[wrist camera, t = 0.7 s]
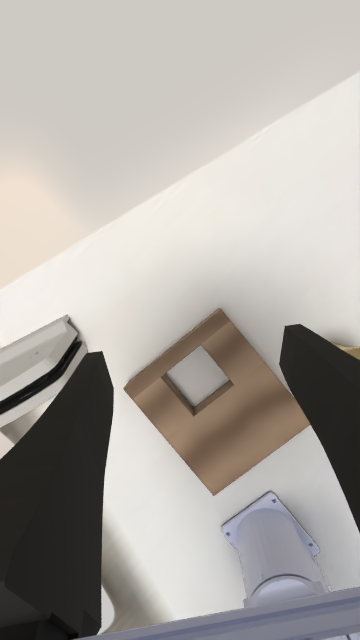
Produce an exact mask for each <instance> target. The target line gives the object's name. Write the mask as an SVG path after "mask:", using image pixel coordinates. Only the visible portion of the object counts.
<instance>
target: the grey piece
mask: <svg viewBox="0 0 360 640" xmlns="http://www.w3.org/2000/svg"><path fill="white" fill-rule="evenodd" d="M69 318H70V317H69V316H68V315H65V316H63V317H61V318H59V319H57V320H55V321H53V322H52V323H50V324H48V325H46V326H44V327H42V328H40V329H38V330H36V331H34V332H32V333H30V334H28V335H27V336H25V337H23V338H21V339H19V340H17V341H15V342H13V343H11V344H9V345H7V346H5V347H3V348H2V349H0V427H2V426H4V425H6V424H8V423H10V422H11V421H13V420H15V419H17V418H19V417H20V416H22V415H24V414H26V413H27V412H29V411H31V410H33V409H34V408H36V407H37V406H39V405H41V404H42V403H44V402H45V401H47V400H48V399H50V398H51V397H53V396H54V395H56V394H57V393H59V392H60V391H61V389H62V388H63V386H64V385H65V384H66V382H67V381H68V379H69V378H70V376H71V375H72V374H73V372H74V371H75V369H76V368H77V366H78V364H79V363H80V361H81V360H82V358H83V357H84V356H85V354H86V353H87V352H88V349H87V346H86V344H85V342H83V343H81V342H80V341H79V342H77V343H76V344H74V343H75V341H76V340H77V337H76V336H77V334H78V332H77V331H75V330H74V329H73V328H72V327H71V326H70V325H69V324H68V323H67V322H68V320H69ZM73 344H74V345H73Z"/></svg>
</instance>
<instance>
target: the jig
mask: <svg viewBox="0 0 360 640" xmlns="http://www.w3.org/2000/svg"><path fill="white" fill-rule="evenodd" d="M200 345H202V346H203V348H204V349H205V350H206V351H207V352H208V354H209V355H210V356H211V357H212V358H213V360H214V361H215V362H216V363H217V365H218V366H219V367H220V368H221V369H222V371H223V372H224V373H225V374H226V375H227V377H228V378H229V379H230V380H229V381H228V382H227V383H225V384H224V385H223V386H222V387H220V388H219V389H218V390H216V391H215V392H214V393H213V394H211V395H210V396H209V397H208V398H206V399H205V400H204V401H202V402H201V403H200V404H199V405H197V406H196V407H195V408H193V407H192V406H191V404H190V403H189V402H188V401H187V400H186V399H185V397H184V396H183V395H182V394H181V393H180V391H179V390H178V389H177V388H176V387H175V385H174V384H173V383H172V382H171V381H170V379H169V378H168V377H167V376H166V375H165V373H166V372H167V371H169V370H170V369H171V368H172V367H174V366H175V365H176V364H177V363H179V362H180V361H181V360H182V359H183V358H185V357H186V356H187V355H188V354H190V353H191V352H192V351H193V350H195V349H196V348H197V347H198V346H200ZM123 389H124V390H125V392H126V393H127V394H128V395H129V396H130V397H131V399H132V400H133V401H134V402H135V403H136V405H137V406H138V407H139V408H140V409H141V410H142V412H143V413H144V414H145V415H146V416H147V418H148V419H149V420H150V421H151V422H152V423H153V425H154V426H155V427H156V428H157V429H158V431H159V432H160V433H161V434H162V435H163V437H164V438H165V439H166V440H167V441H168V442H169V444H170V445H171V446H172V447H173V448H174V450H175V451H176V452H177V453H178V454H179V455H180V457H181V458H182V459H183V460H184V461H185V463H186V464H187V465H188V466H189V467H190V468H191V470H192V471H193V472H194V473H195V474H196V476H197V477H198V478H199V479H200V480H201V482H202V483H203V484H204V485H205V486H206V487H207V489H208V490H209V491H210V492H211V493H212V495H213V496H215V495H216V494H217V493H219V492H220V491H221V490H223V489H224V488H225V487H227V486H228V485H229V484H231V483H232V482H234V481H235V480H236V479H238V478H239V477H240V476H242V475H243V474H244V473H246V472H247V471H248V470H250V469H251V468H252V467H254V466H255V465H257V464H258V463H259V462H261V461H262V460H263V459H265V458H266V457H267V456H269V455H270V454H271V453H273V452H274V451H275V450H277V449H278V448H280V447H281V446H282V445H284V444H285V443H286V442H288V441H289V440H290V439H292V438H293V437H294V436H296V435H297V434H298V433H300V432H301V431H302V430H304V429H305V428H307V427H308V426H309V425H311V424H310V423H309V421H308V419H307V418H306V416H305V414H304V413H303V411H302V409H301V407H300V406H299V404H298V402H297V401H296V400H295V399H294V397H293V396H292V395H291V394H290V393H289V391H288V390H287V389H286V388H285V387H284V385H283V384H282V383H281V382H280V380H279V379H278V378H277V377H276V376H275V374H274V373H273V372H272V371H271V369H270V368H269V367H268V366H267V365H266V363H265V362H264V361H263V360H262V358H261V357H260V356H259V355H258V354H257V352H256V351H255V350H254V349H253V348H252V346H251V345H250V344H249V343H248V341H247V340H246V339H245V338H244V337H243V335H242V334H241V333H240V332H239V330H238V329H237V328H236V327H235V326H234V324H233V323H232V322H231V321H230V319H229V318H228V317H227V316H226V315H225V313H224V312H223V311H222V310H221V309H220V308H219V309H218V310H216V311H215V312H214V313H213V314H211V315H210V316H209V317H208V318H206V319H205V320H204V321H203V322H202V323H200V324H199V325H198V326H197V327H195V328H194V329H193V330H192V331H190V332H189V333H188V334H187V335H186V336H184V337H183V338H182V339H181V340H179V341H178V342H177V343H176V344H175V345H173V346H172V347H171V348H170V349H168V350H167V351H166V352H165V353H163V354H162V355H161V356H160V357H159V358H157V359H156V360H155V361H154V362H152V363H151V364H150V365H149V366H148V367H146V368H145V369H144V370H143V371H141V372H140V373H139V374H138V375H136V376H135V377H134V378H133V379H132V380H130V381H129V382H128V383H127V384H126V386H125V387H124V388H123Z"/></svg>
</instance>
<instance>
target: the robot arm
mask: <svg viewBox="0 0 360 640" xmlns="http://www.w3.org/2000/svg"><path fill="white" fill-rule="evenodd" d="M279 365H280V367H281V370H282V373H283V375H284V377H285V380H286V382H287V384H288V387H289V388H290V390H291V392H292V394H293V395H294V397H295V399H296V401H297V402H298V404H299V406H300V407H301V409H302V411H303V413H304V414H305V416H306V418H307V419H308V421H309V423H310V424H311V426H312V428H313V430H314V431H315V433H316V435H317V437H318V438H319V440H320V442H321V444H322V446H323V448H324V450H325V452H326V454H327V457H328V459H329V461H330V463H331V465H332V468H333V470H334V472H335V474H336V477H337V479H338V481H339V483H340V486H341V488H342V490H343V493H344V495H345V497H346V500H347V502H348V505H349V507H350V510H351V512H352V515H353V517H354V520H355V522H356V525H357V527H358V530H359V533H360V360H359V359H357V358H355V357H354V356H352V355H350V354H348V353H347V352H345V351H343V350H342V349H340V348H338V347H337V346H335V345H334V344H332V343H330V342H329V341H327V340H326V339H324V338H322V337H321V336H319V335H318V334H316V333H314V332H313V331H311V330H309V329H308V328H306V327H304V326H303V325H301V324H296V325H289V326H285V329H284V336H283V342H282V349H281V356H280V363H279ZM113 395H114V388H113V385H112V381H111V378H110V375H109V372H108V368H107V365H106V362H105V359H104V355H103V352H102V351H100V352H92V353H86V354H85V356H84V357H83V358H82V360H81V361H80V363H79V364H78V366H77V368H76V369H75V371H74V372H73V374H72V375H71V376H70V378H69V379H68V381H67V382H66V384H65V385H64V386H63V388H62V389H61V391H60V392H59V393H58V395H57V396H56V398H55V399H54V400H53V402H52V403H51V404H50V405H49V407H48V408H47V409H46V410H45V412H44V413H43V414H42V415H41V417H40V418H39V419H38V420H37V421H36V423H35V424H34V425H33V426H32V427H31V428H30V430H29V431H28V432H27V433H26V434H25V435H24V436H23V437H22V438H21V439H20V441H19V442H18V443H17V444H16V445H15V446H14V447H13V448H12V449H11V450H10V451H9V452H8V453H7V454H6V455H4V456H3V458H1V459H0V640H360V587H356V588H351V589H345V590H340V591H334V592H330V590H329V588H328V586H327V584H326V581H325V579H324V577H323V575H322V573H321V570H320V568H319V566H318V564H317V562H316V559H315V557H314V556H316V555H317V554H318V553H319V552H320V549H319V547H318V546H317V545H316V543H315V542H314V541H313V540H312V539H311V537H310V536H309V535H308V534H307V533H306V531H305V530H304V529H303V528H302V527H301V525H300V524H299V523H298V522H297V521H296V519H295V518H294V517H293V516H292V515H291V513H290V512H289V511H288V510H287V509H286V507H285V506H284V505H283V504H282V503H281V501H280V500H279V499H278V498H277V497H276V495H275V494H274V493H272V492H269V493H267V494H266V495H264V496H263V497H262V498H260V499H259V500H258V501H256V502H255V503H253V504H252V505H251V506H249V507H248V508H247V509H245V510H244V511H242V512H241V513H240V514H238V515H237V516H236V517H234V518H233V519H231V520H230V521H229V522H227V523H226V524H225V525H223V526H222V527H221V532H222V534H223V535H224V536H225V537H226V538H227V539H228V541H229V542H230V543H231V544H232V545H233V547H234V548H235V549H236V550H237V551H238V552H239V555H240V561H241V567H242V573H243V579H244V584H245V590H246V596H247V599H244V607H245V608H242V609H237V610H231V611H226V612H220V613H215V614H209V615H204V616H198V617H193V618H188V619H182V620H177V621H171V622H166V623H160V624H155V625H149V626H144V627H139V628H133V629H128V630H122V631H117V632H111V633H106V634H101V635H97V633H98V632H99V630H100V628H101V557H102V515H103V491H104V476H105V467H106V460H107V453H108V446H109V439H110V432H111V425H112V417H113ZM273 499H275V501H272V500H273ZM227 532H229V534H227ZM309 543H311V544H309Z"/></svg>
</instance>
